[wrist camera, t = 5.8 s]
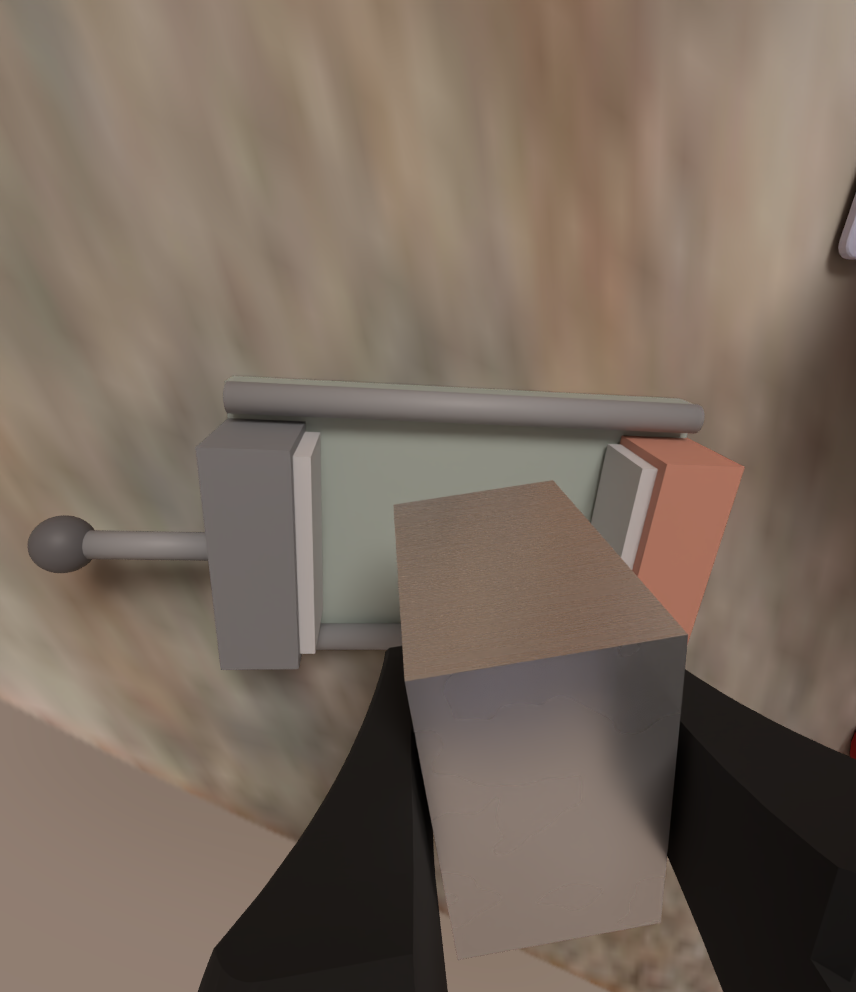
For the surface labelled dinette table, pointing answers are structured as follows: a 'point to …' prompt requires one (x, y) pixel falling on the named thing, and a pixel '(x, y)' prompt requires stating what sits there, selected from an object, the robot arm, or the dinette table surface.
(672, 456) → the block
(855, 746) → the canned food
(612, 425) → the vise base
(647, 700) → the aluminium block
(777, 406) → the dinette table surface
